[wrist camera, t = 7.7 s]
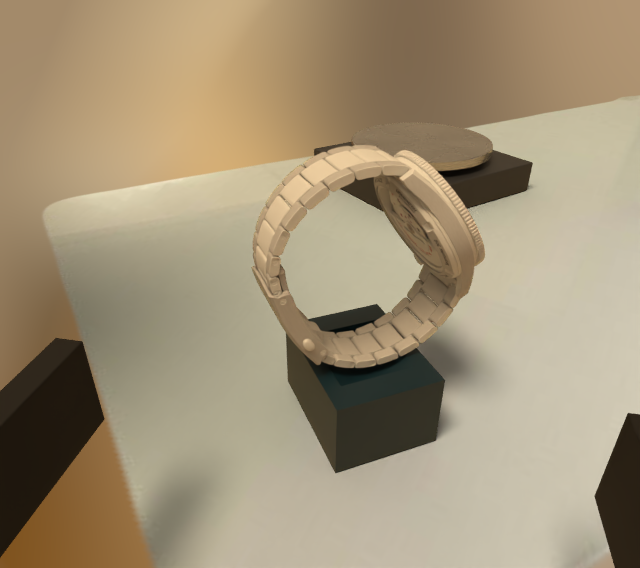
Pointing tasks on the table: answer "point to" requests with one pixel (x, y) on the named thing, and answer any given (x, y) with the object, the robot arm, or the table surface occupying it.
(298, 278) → the table surface
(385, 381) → the watch
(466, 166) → the scale pan
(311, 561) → the table surface
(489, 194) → the scale
